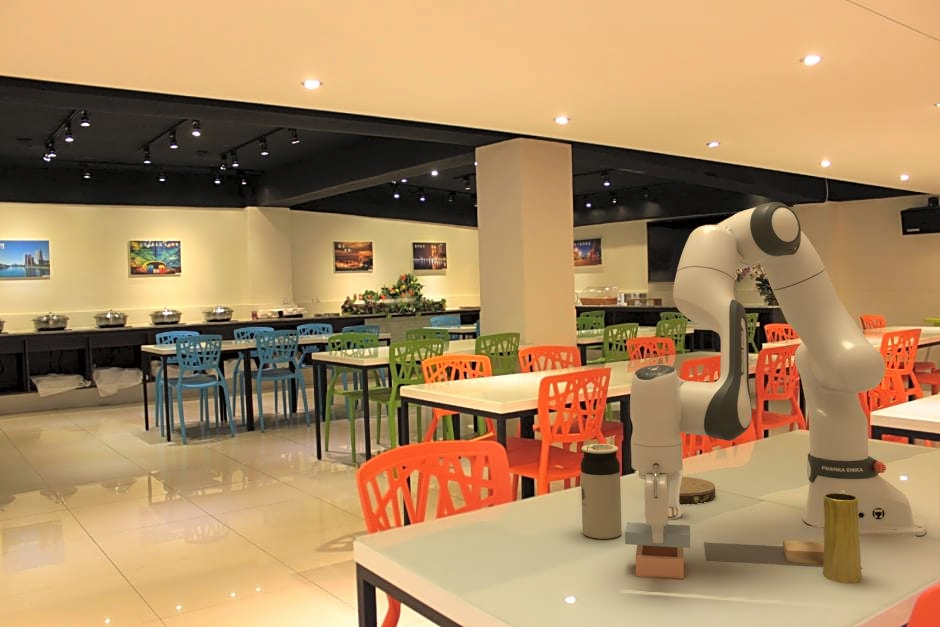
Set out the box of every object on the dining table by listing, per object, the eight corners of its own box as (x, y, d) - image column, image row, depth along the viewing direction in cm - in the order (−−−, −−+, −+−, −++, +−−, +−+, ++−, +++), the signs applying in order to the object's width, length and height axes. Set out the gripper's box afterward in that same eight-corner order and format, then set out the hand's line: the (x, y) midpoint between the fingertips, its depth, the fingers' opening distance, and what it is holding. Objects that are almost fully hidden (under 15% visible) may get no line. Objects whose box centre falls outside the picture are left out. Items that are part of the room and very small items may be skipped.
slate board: (689, 537, 137) (689, 525, 137) (690, 548, 131) (690, 535, 131) (627, 534, 140) (627, 522, 140) (625, 544, 134) (625, 531, 134)
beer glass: (685, 520, 165) (683, 451, 165) (651, 519, 166) (650, 451, 166) (682, 511, 172) (681, 445, 171) (650, 510, 173) (649, 444, 173)
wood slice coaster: (714, 489, 190) (713, 477, 190) (716, 507, 175) (716, 494, 175) (648, 487, 195) (648, 475, 194) (645, 504, 179) (645, 491, 179)
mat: (849, 553, 142) (849, 549, 142) (862, 572, 133) (862, 569, 133) (703, 545, 149) (703, 542, 149) (706, 563, 139) (705, 560, 139)
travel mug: (624, 529, 160) (621, 444, 160) (618, 541, 153) (616, 452, 152) (586, 526, 163) (584, 442, 162) (579, 538, 155) (576, 450, 155)
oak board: (847, 555, 139) (847, 543, 139) (854, 566, 134) (854, 553, 134) (783, 552, 142) (782, 540, 142) (787, 562, 137) (787, 550, 137)
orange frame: (683, 566, 138) (682, 544, 138) (684, 582, 131) (683, 559, 131) (638, 563, 140) (637, 541, 140) (636, 579, 133) (635, 556, 133)
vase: (815, 574, 133) (813, 492, 132) (849, 572, 133) (847, 490, 133) (835, 587, 126) (833, 502, 126) (870, 585, 127) (868, 500, 127)
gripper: (675, 472, 124) (677, 556, 125) (675, 446, 144) (676, 519, 144) (635, 471, 126) (637, 554, 126) (640, 446, 146) (642, 518, 146)
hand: (658, 535), depth 135 cm, fingers closed on slate board, 5 cm apart
